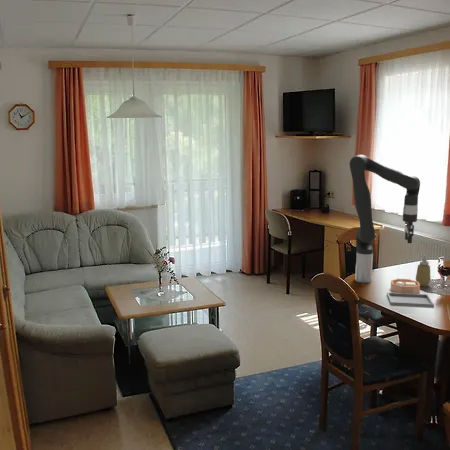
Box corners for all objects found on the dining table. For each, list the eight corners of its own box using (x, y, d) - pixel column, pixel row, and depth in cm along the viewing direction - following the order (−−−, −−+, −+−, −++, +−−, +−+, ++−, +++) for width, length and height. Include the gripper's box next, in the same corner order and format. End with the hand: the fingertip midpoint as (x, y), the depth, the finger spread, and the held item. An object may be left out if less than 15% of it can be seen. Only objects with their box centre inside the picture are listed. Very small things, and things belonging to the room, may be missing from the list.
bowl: (393, 294, 279) (393, 285, 278) (389, 286, 293) (389, 278, 292) (421, 296, 276) (421, 287, 275) (415, 287, 290) (416, 279, 289)
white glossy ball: (396, 290, 283) (396, 283, 282) (395, 288, 287) (395, 281, 287) (404, 290, 282) (405, 284, 282) (403, 288, 287) (403, 281, 286)
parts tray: (390, 305, 261) (390, 302, 261) (386, 295, 277) (386, 292, 276) (433, 308, 258) (434, 304, 257) (427, 297, 273) (427, 294, 273)
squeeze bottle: (429, 283, 297) (431, 254, 294) (430, 288, 290) (432, 257, 286) (415, 282, 300) (417, 253, 297) (415, 286, 292) (417, 256, 289)
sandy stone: (405, 290, 282) (406, 284, 281) (404, 288, 286) (405, 281, 285) (415, 291, 281) (415, 284, 281) (414, 289, 285) (414, 282, 284)
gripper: (401, 210, 288) (399, 238, 291) (405, 214, 274) (403, 243, 278) (415, 211, 287) (412, 239, 290) (419, 215, 273) (417, 244, 276)
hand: (408, 241), depth 284 cm, fingers open, 8 cm apart
